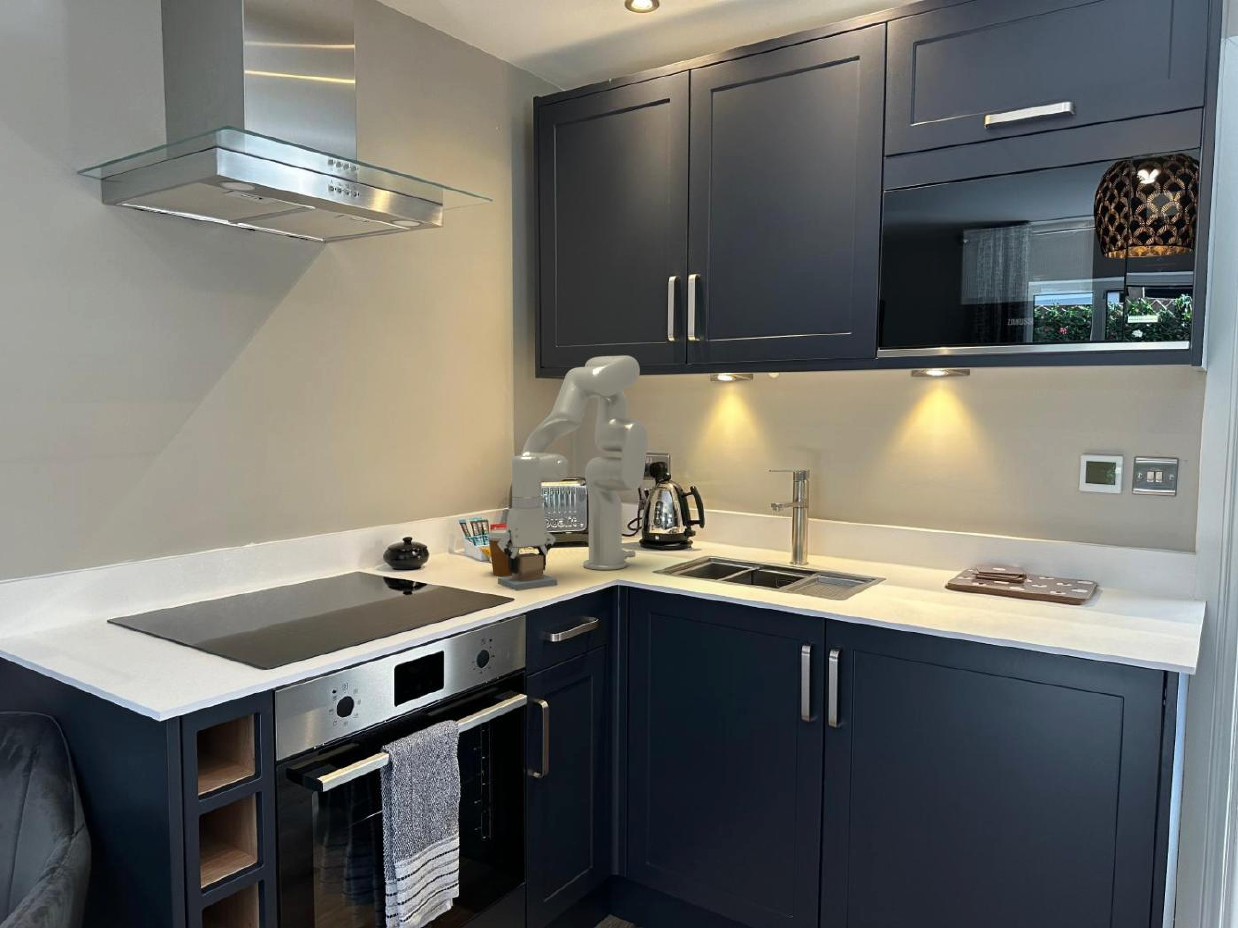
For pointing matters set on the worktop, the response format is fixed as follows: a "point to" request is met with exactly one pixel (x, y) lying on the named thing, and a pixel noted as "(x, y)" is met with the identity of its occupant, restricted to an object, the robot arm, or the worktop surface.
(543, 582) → the slate board
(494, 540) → the disposable coffee cup
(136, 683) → the worktop surface
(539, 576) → the walnut cube
